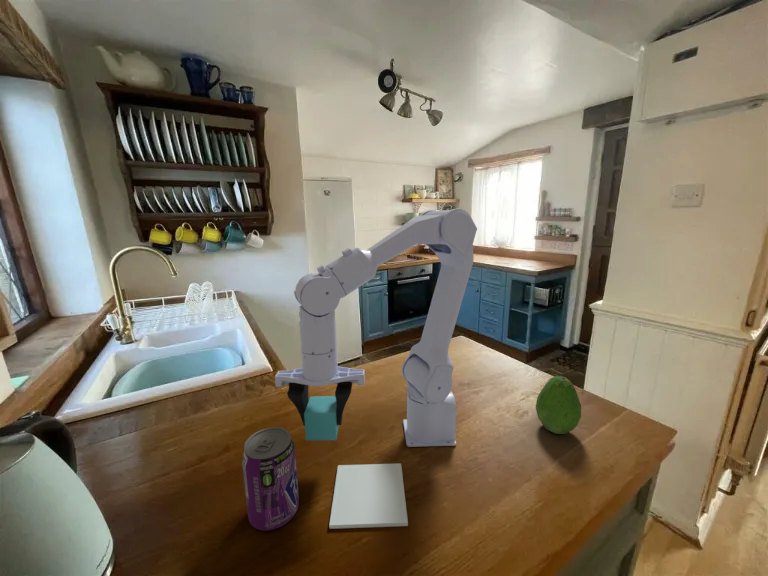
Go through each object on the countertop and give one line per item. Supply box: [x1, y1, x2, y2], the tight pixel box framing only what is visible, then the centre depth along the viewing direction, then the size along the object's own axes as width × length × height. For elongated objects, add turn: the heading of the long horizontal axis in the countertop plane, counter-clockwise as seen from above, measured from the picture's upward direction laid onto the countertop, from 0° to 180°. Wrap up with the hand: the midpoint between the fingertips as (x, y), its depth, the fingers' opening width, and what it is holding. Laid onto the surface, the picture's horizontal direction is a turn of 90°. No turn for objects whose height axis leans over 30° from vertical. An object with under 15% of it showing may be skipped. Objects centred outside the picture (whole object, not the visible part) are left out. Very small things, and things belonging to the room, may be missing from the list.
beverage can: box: [241, 426, 300, 531], centre depth 45 cm, size 7×7×12 cm
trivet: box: [328, 463, 409, 530], centre depth 49 cm, size 11×11×1 cm
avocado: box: [535, 375, 582, 435], centre depth 63 cm, size 8×8×12 cm
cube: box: [304, 395, 340, 441], centre depth 54 cm, size 5×5×5 cm
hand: (323, 421), depth 54 cm, fingers closed on cube, 5 cm apart
